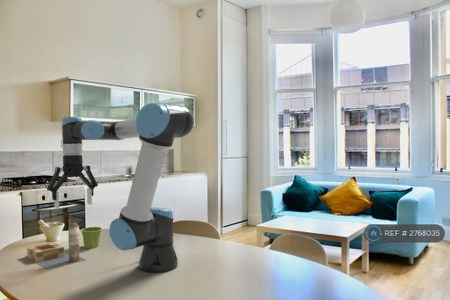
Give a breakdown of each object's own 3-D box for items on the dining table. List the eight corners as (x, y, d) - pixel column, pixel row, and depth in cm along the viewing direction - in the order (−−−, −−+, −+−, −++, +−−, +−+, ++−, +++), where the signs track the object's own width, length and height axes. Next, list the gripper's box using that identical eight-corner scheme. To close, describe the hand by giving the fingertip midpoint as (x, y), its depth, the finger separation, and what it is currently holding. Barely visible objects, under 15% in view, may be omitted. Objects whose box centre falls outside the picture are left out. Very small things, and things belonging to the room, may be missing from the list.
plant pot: (98, 250, 173) (97, 231, 173) (77, 250, 174) (77, 231, 173) (105, 244, 183) (104, 226, 183) (85, 244, 183) (85, 226, 183)
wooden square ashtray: (64, 256, 163) (64, 247, 162) (37, 262, 155) (36, 252, 155) (53, 251, 170) (53, 242, 170) (27, 256, 162) (27, 247, 162)
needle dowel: (81, 260, 157) (80, 222, 157) (71, 262, 154) (71, 224, 154) (76, 258, 160) (76, 221, 159) (67, 260, 157) (66, 222, 157)
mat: (86, 261, 158) (86, 260, 158) (46, 270, 146) (46, 269, 146) (62, 249, 174) (62, 248, 174) (24, 257, 163) (24, 256, 163)
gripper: (97, 153, 169) (98, 201, 170) (37, 155, 152) (38, 208, 152) (105, 153, 164) (106, 203, 164) (44, 155, 147) (45, 211, 147)
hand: (73, 206), depth 158 cm, fingers open, 13 cm apart
